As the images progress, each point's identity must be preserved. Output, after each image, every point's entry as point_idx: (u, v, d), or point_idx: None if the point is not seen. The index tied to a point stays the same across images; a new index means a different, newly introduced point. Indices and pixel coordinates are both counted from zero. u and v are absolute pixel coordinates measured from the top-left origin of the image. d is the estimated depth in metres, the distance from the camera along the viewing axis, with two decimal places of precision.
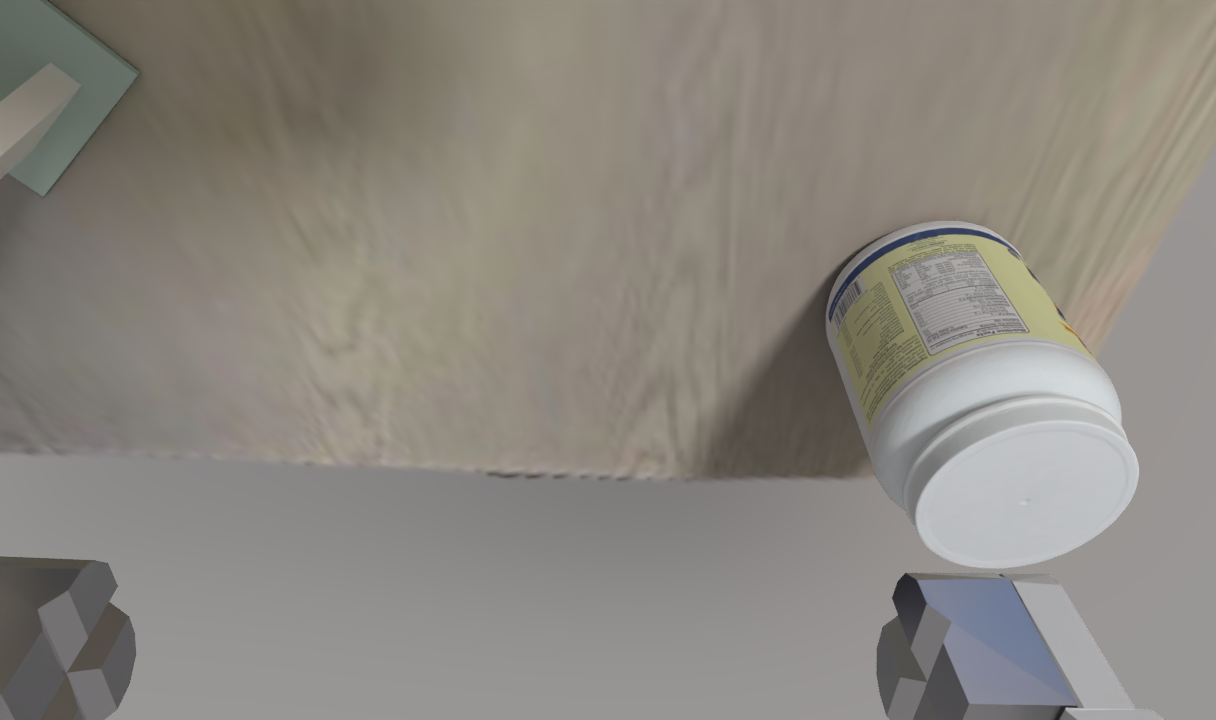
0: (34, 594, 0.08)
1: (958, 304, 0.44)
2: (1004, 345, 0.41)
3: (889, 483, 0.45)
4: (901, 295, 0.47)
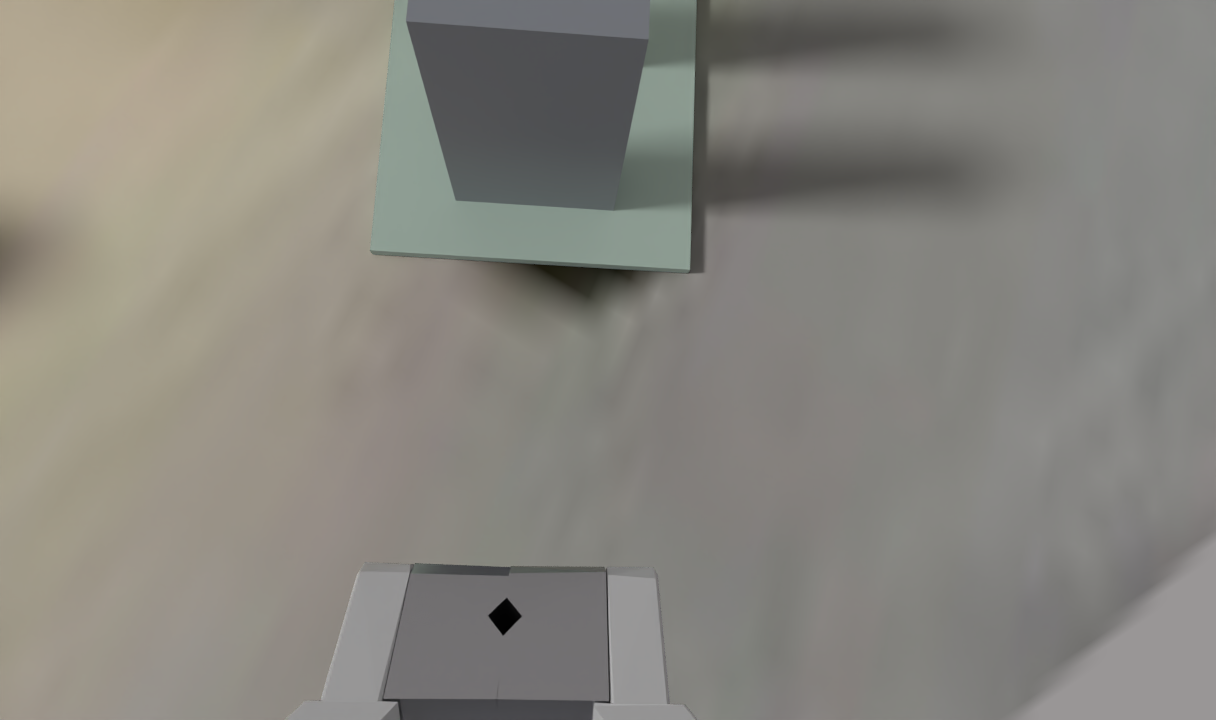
0: (476, 601, 0.08)
1: None
2: None
3: None
4: None
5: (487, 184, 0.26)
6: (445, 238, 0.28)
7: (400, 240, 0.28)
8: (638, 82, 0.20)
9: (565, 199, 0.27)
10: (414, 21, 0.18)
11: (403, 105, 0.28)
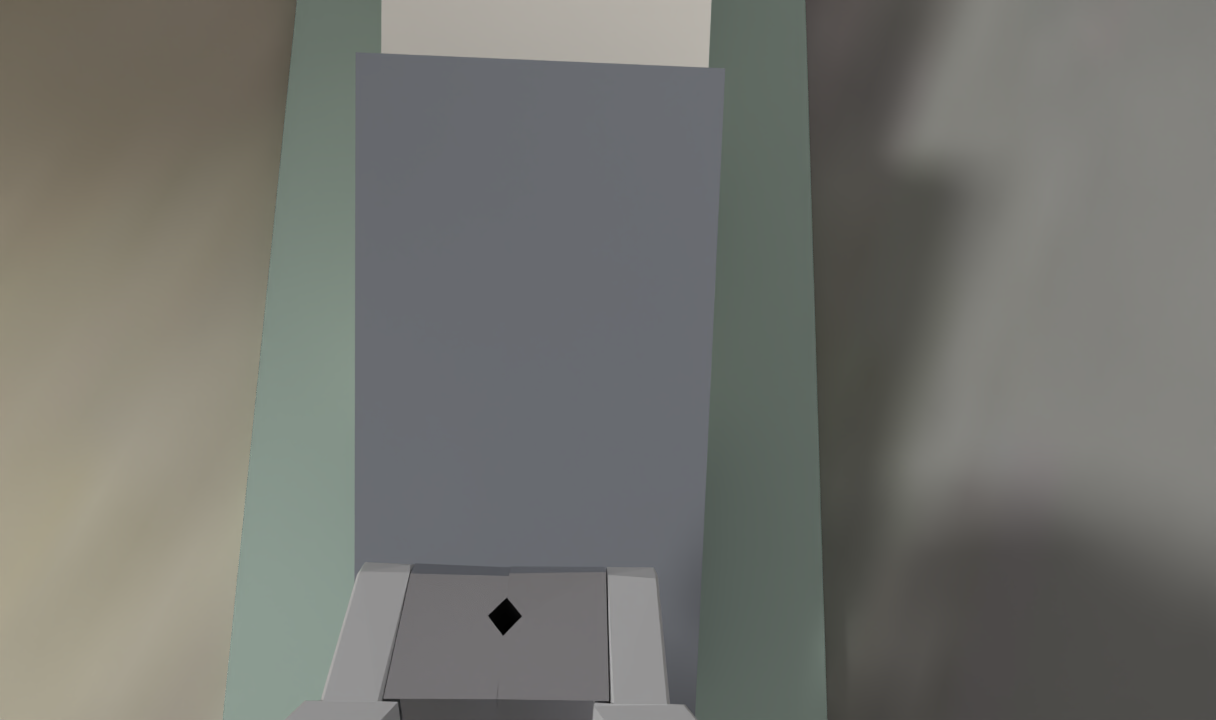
0: (476, 600, 0.08)
1: None
2: None
3: None
4: None
5: None
6: None
7: None
8: (716, 201, 0.12)
9: None
10: None
11: (268, 632, 0.15)
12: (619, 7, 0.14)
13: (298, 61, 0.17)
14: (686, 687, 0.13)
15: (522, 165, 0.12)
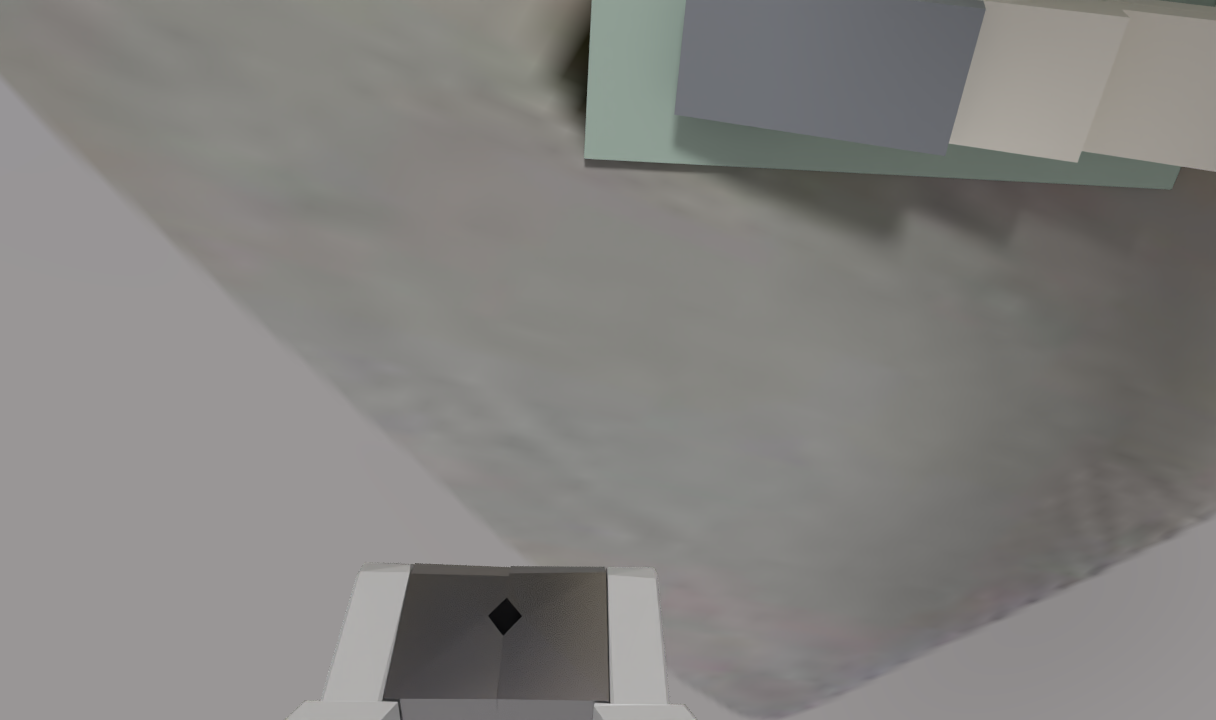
0: (477, 601, 0.08)
1: None
2: None
3: None
4: None
5: (727, 13, 0.31)
6: None
7: None
8: (894, 147, 0.32)
9: (697, 76, 0.33)
10: None
11: None
12: (988, 109, 0.32)
13: None
14: (703, 115, 0.33)
15: (923, 73, 0.30)
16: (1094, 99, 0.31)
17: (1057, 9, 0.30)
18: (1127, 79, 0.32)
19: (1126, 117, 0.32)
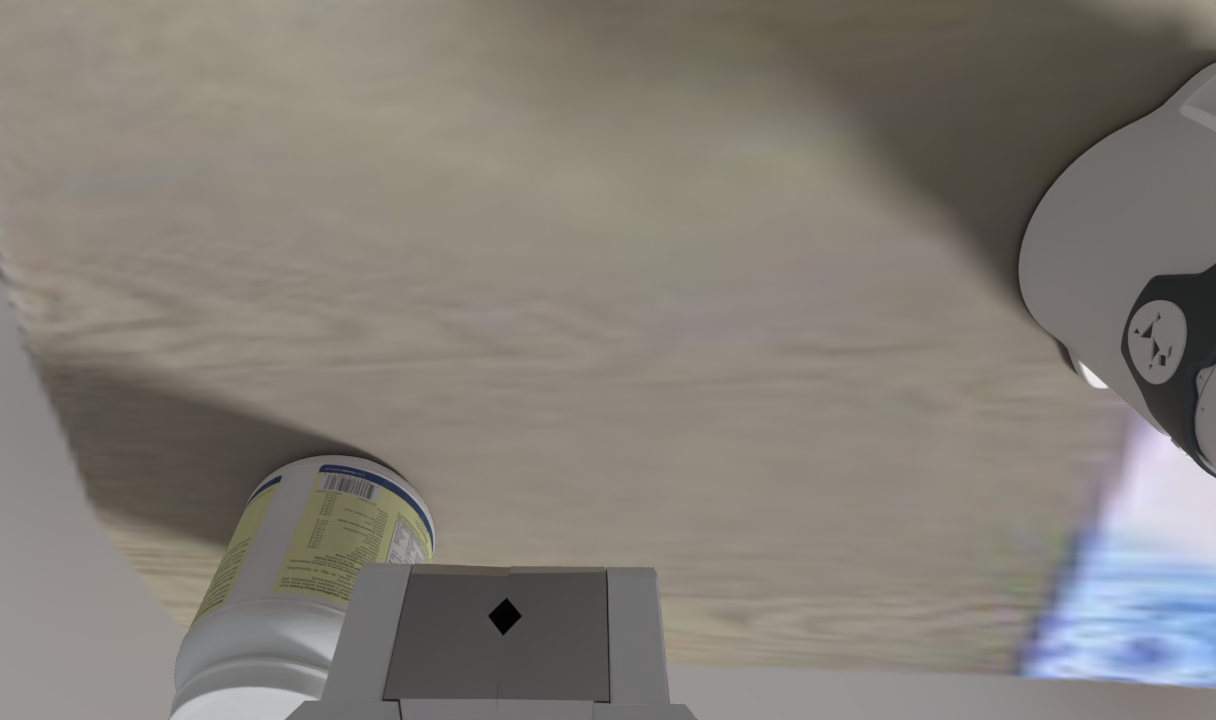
0: (477, 601, 0.08)
1: None
2: None
3: (228, 633, 0.44)
4: (390, 544, 0.51)
5: None
6: None
7: None
8: None
9: None
10: None
11: None
12: None
13: None
14: None
15: None
16: None
17: None
18: None
19: None
